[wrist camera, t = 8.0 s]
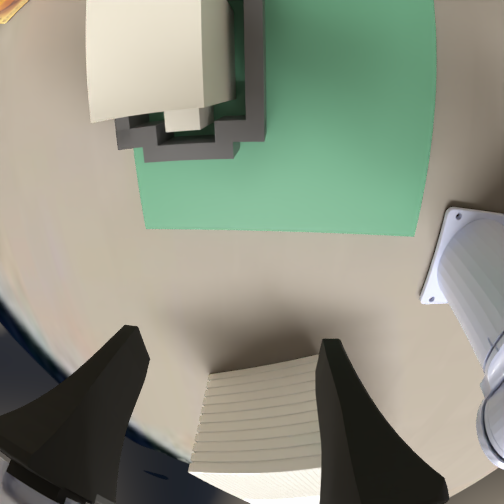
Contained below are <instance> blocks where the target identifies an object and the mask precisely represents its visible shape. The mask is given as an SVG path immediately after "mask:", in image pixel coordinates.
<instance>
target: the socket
mask: <svg viewBox="0 0 504 504" xmlns="http://www.w3.org/2000/svg"><path fill="white" fill-rule="evenodd" d="M227 1H232V0H227ZM244 54H245V105H246V115H240V116H223V117H221V118H219V119H217V120H215V121H214V128H215V134H214V135H194V136H178V137H174V132H166V130H165V120H161V121H153V122H150V121H149V113H147V114H140V115H134V116H127V117H121V118H116V119H115V128H116V137H117V145H118V150H122V149H131V148H140V147H143V155H144V163H150V162H165V161H183V160H210V159H234V157H235V156H236V154H237V152H238V151H239V149H240V142H265V138H266V134H267V133H266V39H265V0H244Z"/></svg>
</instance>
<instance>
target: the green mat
mask: <svg viewBox="0 0 504 504" xmlns="http://www.w3.org/2000/svg"><path fill="white" fill-rule="evenodd" d="M228 3H229V5H230V6H231V8H232V9H233V11H234V41H235V79H236V99H234V100H230V101H226V102H222V103H219V104H215V105H213V110H214V121H215V120H217V119H219V118H221V117H223V116H240V115H246V105H245V54H244V0H232V1H228ZM265 39H266V133H267V134H266V138H265V142H240V149H239V151H238V152H237V154H236V156H235V157H234V159H210V160H183V161H165V162H150V163H144V155H143V147H140V148H134V157H135V164H136V171H137V178H138V185H139V192H140V198H141V204H142V210H143V215H144V221H145V226H146V229H202V230H254V231H290V232H321V233H347V234H370V235H391V236H411V237H414V235H415V230H416V226H417V222H418V217H419V213H420V208H421V203H422V198H423V193H424V188H425V182H426V176H427V170H428V164H429V157H430V149H431V141H432V133H433V123H434V111H435V96H436V26H435V11H434V1H433V0H265ZM161 120H165V118H164V111H163V112H155V113H149V121H150V122H153V121H161ZM214 134H215V128H214V122H213V123H211V124H209V125H208V126H206V127H204V128H202V129H201V130H189V131H176V132H174V137H178V136H194V135H214Z"/></svg>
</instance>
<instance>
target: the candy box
mask: <svg viewBox="0 0 504 504" xmlns="http://www.w3.org/2000/svg"><path fill="white" fill-rule="evenodd" d="M28 1H29V0H0V24H5V23H7V21H8V20H9V19H10V18H11V17H12V16H13V15H14V14H15V13H16V12H17V11H18V10H19V9H20V8H21V7H22V6H23V5H24V4H26V3H27V2H28Z"/></svg>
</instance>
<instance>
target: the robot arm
mask: <svg viewBox="0 0 504 504" xmlns="http://www.w3.org/2000/svg"><path fill="white" fill-rule="evenodd" d="M458 213H459V216H458V217H456V215H457V214H458ZM431 297H432V298H431ZM420 301H421V303H422V304H441V303H449V305H450V307H451V309H452V310H453V312H454V314H455V316H456V318H457V319H458V321H459V323H460V325H461V327H462V329H463V331H464V333H465V334H466V336H467V338H468V340H469V342H470V344H471V346H472V348H473V350H474V352H475V354H476V356H477V359H478V361H479V363H480V365H481V367H482V369H483V372H484V373H485V376H484V379H483V380H482V382H481V383H480V387H481V389H482V392H483V394H484V397H485V398H484V399H483V401H482V403H481V405H480V407H479V410H478V413H477V419H476V428H477V435H478V440H479V443H480V445H481V448H482V450H483V452H484V453H485V455H486V456H487V458H488V459H489V460H490V461H491V462H492V463H493V464H494V465H496V466H497V467H499V468H501V469H504V214H502V213H496V212H489V211H482V210H474V209H466V208H458V207H450V208H448V209H447V210H446V213H445V217H444V221H443V225H442V229H441V232H440V236H439V240H438V243H437V246H436V250H435V253H434V256H433V260H432V263H431V266H430V269H429V272H428V275H427V278H426V281H425V284H424V287H423V289H422V292H421V295H420ZM149 361H150V358H149V355H148V352H147V350H146V347H145V345H144V342H143V339H142V337H141V334H140V331H139V328H138V327H137V326H130V325H124V326H123V327H122V328H121V329H120V330H119V331H118V332H117V333H116V334H115V335H114V336H113V337H112V338H111V339H110V340H109V341H108V342H107V343H106V344H105V345H104V346H103V347H102V348H101V349H100V350H98V351H97V352H96V353H95V354H94V355H93V356H92V357H91V358H90V359H89V360H88V361H87V362H86V363H84V364H83V365H82V366H81V367H80V368H79V369H78V370H77V371H75V372H74V373H73V374H72V375H71V376H69V377H68V378H67V379H66V380H64V381H63V382H62V383H60V384H59V385H58V386H56V387H55V388H53V389H52V390H50V391H49V392H48V393H46V394H44V395H42V396H41V397H39V398H38V399H36V400H34V401H32V402H30V403H29V404H27V405H25V406H23V407H21V408H18V409H16V410H14V411H11V412H9V413H6V414H4V415H1V416H0V451H1V452H2V453H3V454H5V455H6V456H7V457H9V458H10V459H11V461H10V463H8V462H6V461H5V460H4V459H2V458H1V457H0V504H85V503H86V502H88V503H90V504H94V503H95V502H98V503H100V504H116V488H117V477H118V468H119V462H120V456H121V451H122V446H123V441H124V437H125V433H126V429H127V426H128V423H129V420H130V417H131V415H132V412H133V409H134V407H135V404H136V402H137V399H138V397H139V394H140V391H141V389H142V386H143V383H144V381H145V377H146V373H147V369H148V365H149ZM315 395H316V403H317V412H318V421H319V429H320V438H321V486H320V501H319V504H444V503H446V502H447V501H448V500H449V494H448V488H447V485H446V482H445V478H444V477H443V476H441V475H440V474H439V473H438V472H436V471H435V470H434V469H433V468H431V467H430V466H429V465H428V464H427V463H425V462H424V461H423V460H422V459H421V458H420V457H419V456H418V455H417V454H416V453H415V452H414V451H413V450H412V449H411V448H410V447H409V446H408V445H407V444H406V443H405V442H404V441H403V440H402V438H401V437H400V436H399V435H398V434H397V433H396V432H395V430H394V429H393V428H392V427H391V426H390V424H389V423H388V422H387V420H386V419H385V418H384V416H383V415H382V414H381V412H380V411H379V409H378V408H377V407H376V405H375V404H374V402H373V400H372V399H371V397H370V396H369V394H368V393H367V391H366V389H365V388H364V386H363V384H362V382H361V381H360V379H359V377H358V375H357V374H356V372H355V370H354V368H353V366H352V364H351V362H350V360H349V358H348V356H347V354H346V352H345V350H344V348H343V345H342V343H341V341H340V340H339V339H322V344H321V348H320V353H319V357H318V362H317V366H316V370H315Z"/></svg>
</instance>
